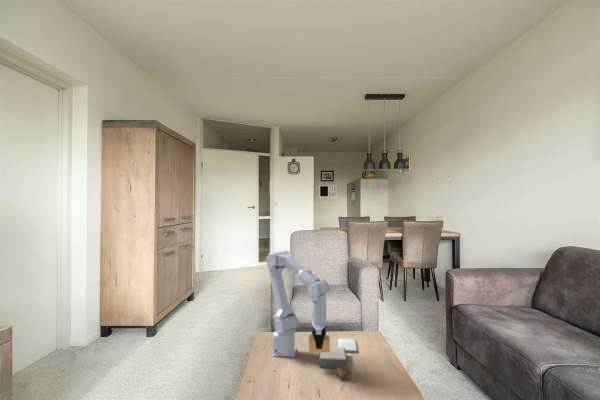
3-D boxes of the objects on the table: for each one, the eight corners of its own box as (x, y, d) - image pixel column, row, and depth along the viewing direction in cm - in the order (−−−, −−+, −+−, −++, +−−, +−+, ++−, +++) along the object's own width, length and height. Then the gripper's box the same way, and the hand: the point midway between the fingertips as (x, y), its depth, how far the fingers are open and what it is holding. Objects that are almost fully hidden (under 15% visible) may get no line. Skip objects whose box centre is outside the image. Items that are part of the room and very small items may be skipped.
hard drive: (357, 350, 131) (355, 338, 143) (338, 349, 132) (337, 337, 144) (357, 354, 131) (355, 342, 143) (338, 353, 132) (337, 341, 144)
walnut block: (341, 381, 109) (341, 373, 110) (337, 375, 113) (337, 367, 113) (351, 379, 110) (351, 371, 111) (346, 374, 114) (346, 366, 114)
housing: (309, 351, 118) (309, 338, 118) (309, 347, 121) (309, 334, 122) (329, 352, 117) (329, 339, 117) (329, 347, 121) (329, 335, 121)
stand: (319, 367, 119) (318, 358, 119) (319, 354, 130) (319, 346, 130) (346, 368, 118) (346, 359, 118) (345, 354, 129) (344, 346, 129)
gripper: (329, 317, 112) (329, 355, 112) (329, 305, 127) (329, 338, 126) (310, 317, 113) (310, 354, 112) (312, 305, 127) (312, 338, 127)
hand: (319, 346), depth 119 cm, fingers closed on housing, 4 cm apart
